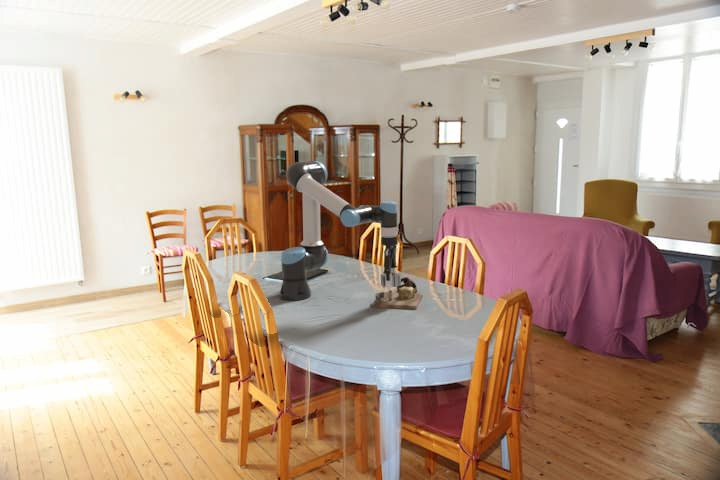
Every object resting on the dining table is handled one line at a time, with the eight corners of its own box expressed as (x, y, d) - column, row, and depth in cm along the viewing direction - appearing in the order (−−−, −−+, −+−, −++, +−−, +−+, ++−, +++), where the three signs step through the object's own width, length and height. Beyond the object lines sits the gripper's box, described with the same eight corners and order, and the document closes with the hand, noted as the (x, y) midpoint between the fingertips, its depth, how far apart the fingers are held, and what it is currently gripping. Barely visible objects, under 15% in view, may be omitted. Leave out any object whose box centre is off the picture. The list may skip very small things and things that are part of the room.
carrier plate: (372, 306, 252) (372, 294, 251) (381, 294, 271) (381, 282, 270) (416, 309, 247) (416, 296, 246) (422, 296, 266) (422, 284, 265)
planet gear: (379, 287, 252) (378, 276, 251) (383, 282, 260) (382, 272, 260) (399, 287, 250) (398, 276, 249) (402, 282, 258) (401, 272, 257)
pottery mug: (419, 295, 271) (411, 281, 268) (402, 302, 274) (394, 289, 271) (417, 282, 282) (410, 270, 279) (401, 290, 284) (393, 277, 281)
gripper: (393, 240, 240) (394, 291, 244) (401, 232, 261) (402, 279, 264) (376, 240, 242) (377, 290, 246) (386, 232, 262) (387, 278, 266)
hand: (390, 284), depth 255 cm, fingers closed on planet gear, 9 cm apart
